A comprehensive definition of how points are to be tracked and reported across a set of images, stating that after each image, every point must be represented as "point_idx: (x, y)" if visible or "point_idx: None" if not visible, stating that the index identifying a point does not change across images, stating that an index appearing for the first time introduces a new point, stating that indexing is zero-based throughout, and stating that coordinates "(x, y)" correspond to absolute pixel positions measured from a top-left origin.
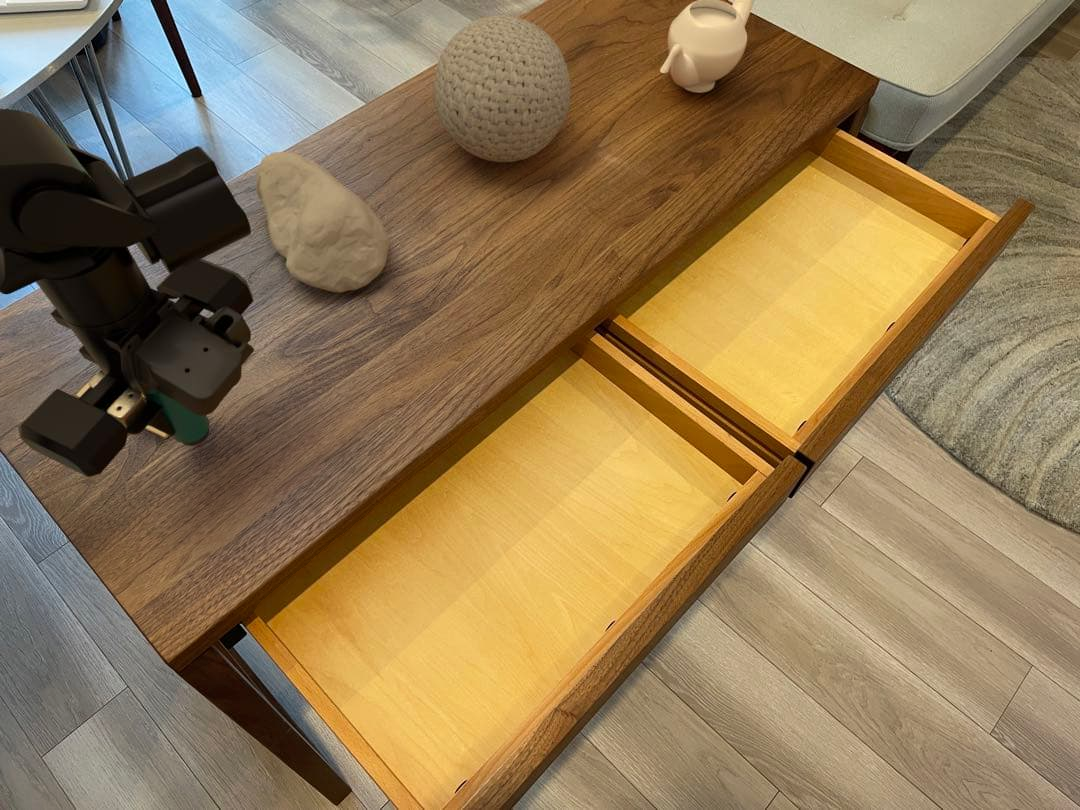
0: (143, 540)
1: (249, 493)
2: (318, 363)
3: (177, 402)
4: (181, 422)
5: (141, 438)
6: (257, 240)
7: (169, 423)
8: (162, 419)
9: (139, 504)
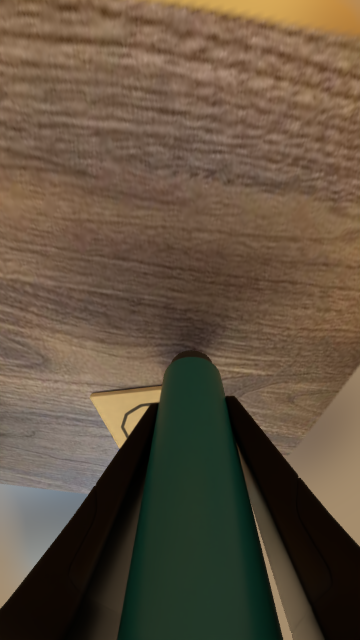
0: (340, 308)
1: (210, 241)
2: (10, 321)
3: (208, 512)
4: (215, 415)
5: None
6: (7, 451)
7: (240, 437)
8: (271, 487)
9: (294, 346)
